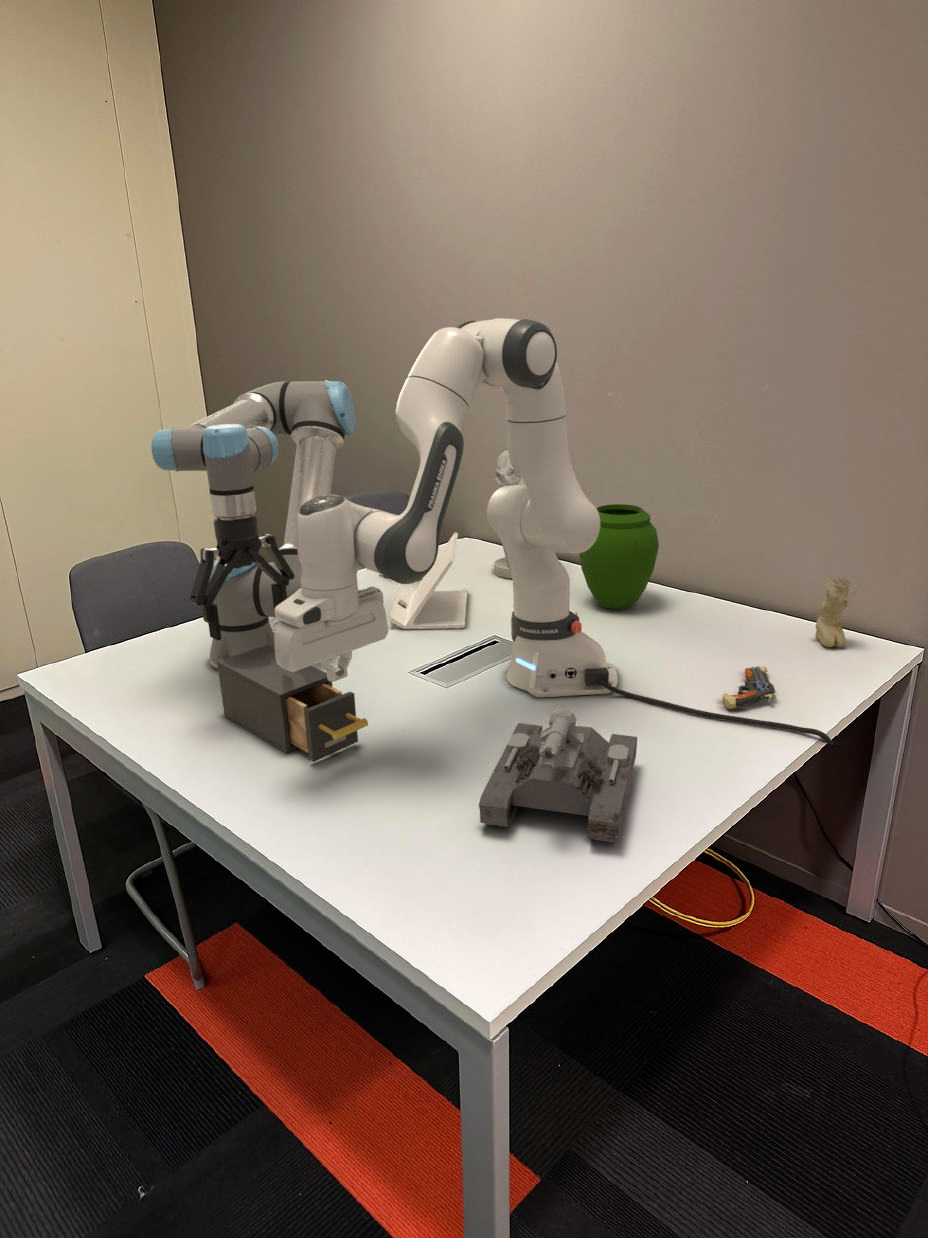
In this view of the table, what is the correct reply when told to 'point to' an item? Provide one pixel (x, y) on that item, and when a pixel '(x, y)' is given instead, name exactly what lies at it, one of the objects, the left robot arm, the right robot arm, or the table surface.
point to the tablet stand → (431, 599)
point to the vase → (620, 556)
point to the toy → (562, 775)
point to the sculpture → (832, 613)
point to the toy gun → (751, 689)
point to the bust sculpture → (503, 477)
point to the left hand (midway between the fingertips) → (249, 627)
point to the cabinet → (263, 693)
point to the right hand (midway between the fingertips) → (337, 678)
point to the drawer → (322, 720)
